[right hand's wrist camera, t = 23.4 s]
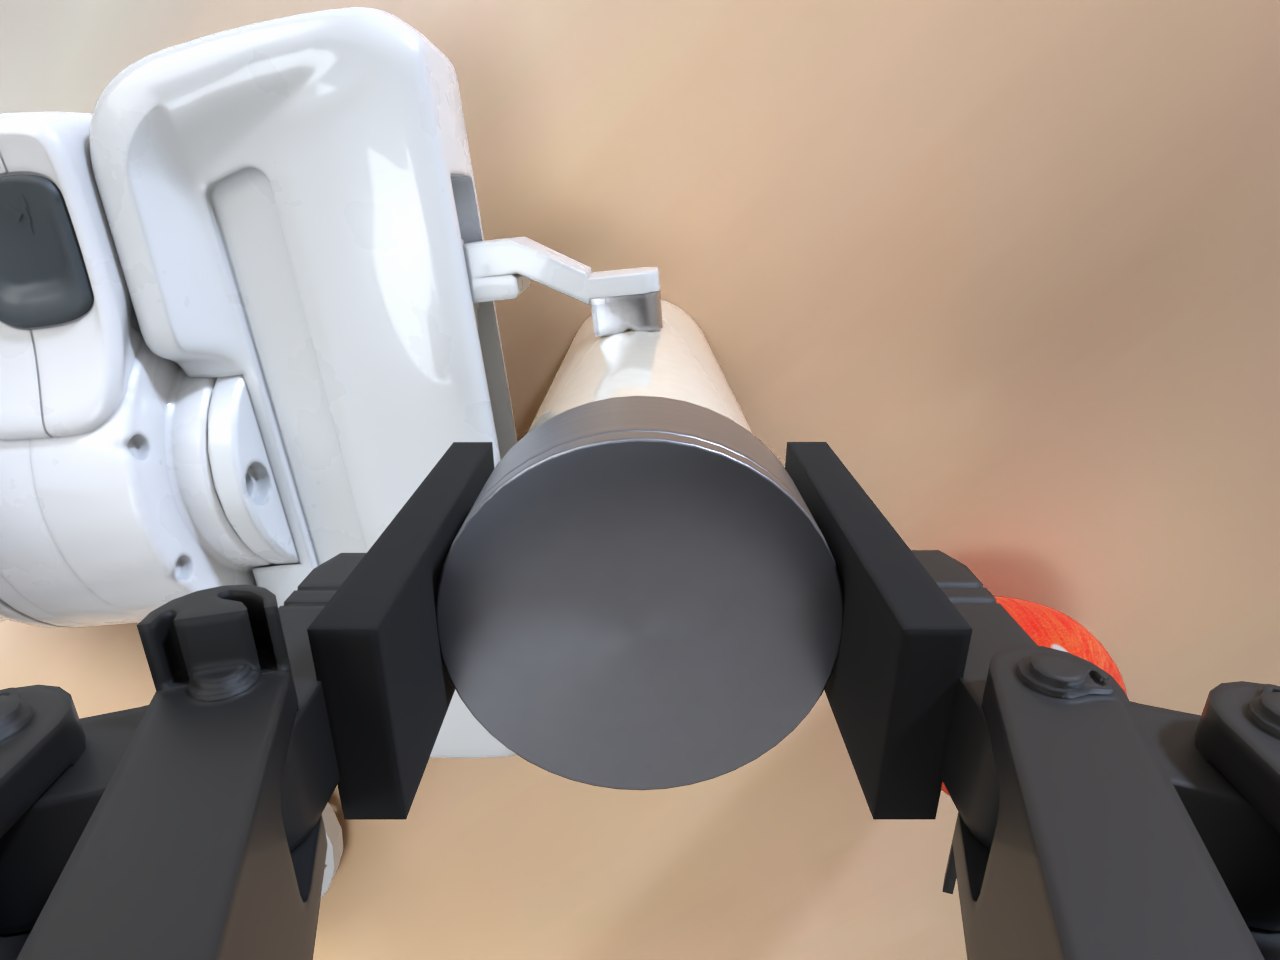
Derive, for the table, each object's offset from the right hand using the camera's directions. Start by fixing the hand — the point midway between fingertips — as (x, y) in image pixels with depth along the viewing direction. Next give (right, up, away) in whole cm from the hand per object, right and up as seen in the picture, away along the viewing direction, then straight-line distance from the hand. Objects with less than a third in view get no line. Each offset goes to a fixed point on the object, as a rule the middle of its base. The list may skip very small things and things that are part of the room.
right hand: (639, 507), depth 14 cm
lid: (0, -1, -4) cm, 4 cm away
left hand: (+1, +2, +6) cm, 6 cm away
